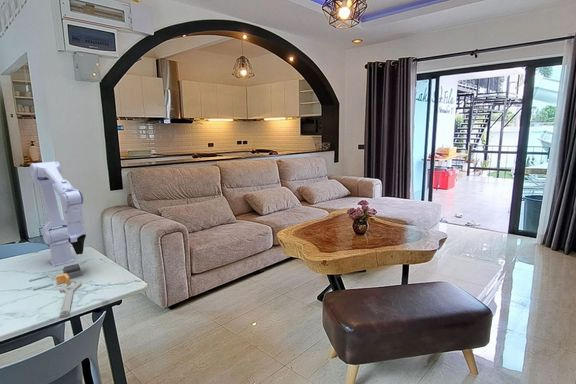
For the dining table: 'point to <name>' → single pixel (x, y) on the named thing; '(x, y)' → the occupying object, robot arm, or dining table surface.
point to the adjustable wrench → (68, 297)
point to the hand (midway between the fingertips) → (79, 253)
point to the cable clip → (74, 274)
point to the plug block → (71, 268)
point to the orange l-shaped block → (63, 279)
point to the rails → (41, 286)
